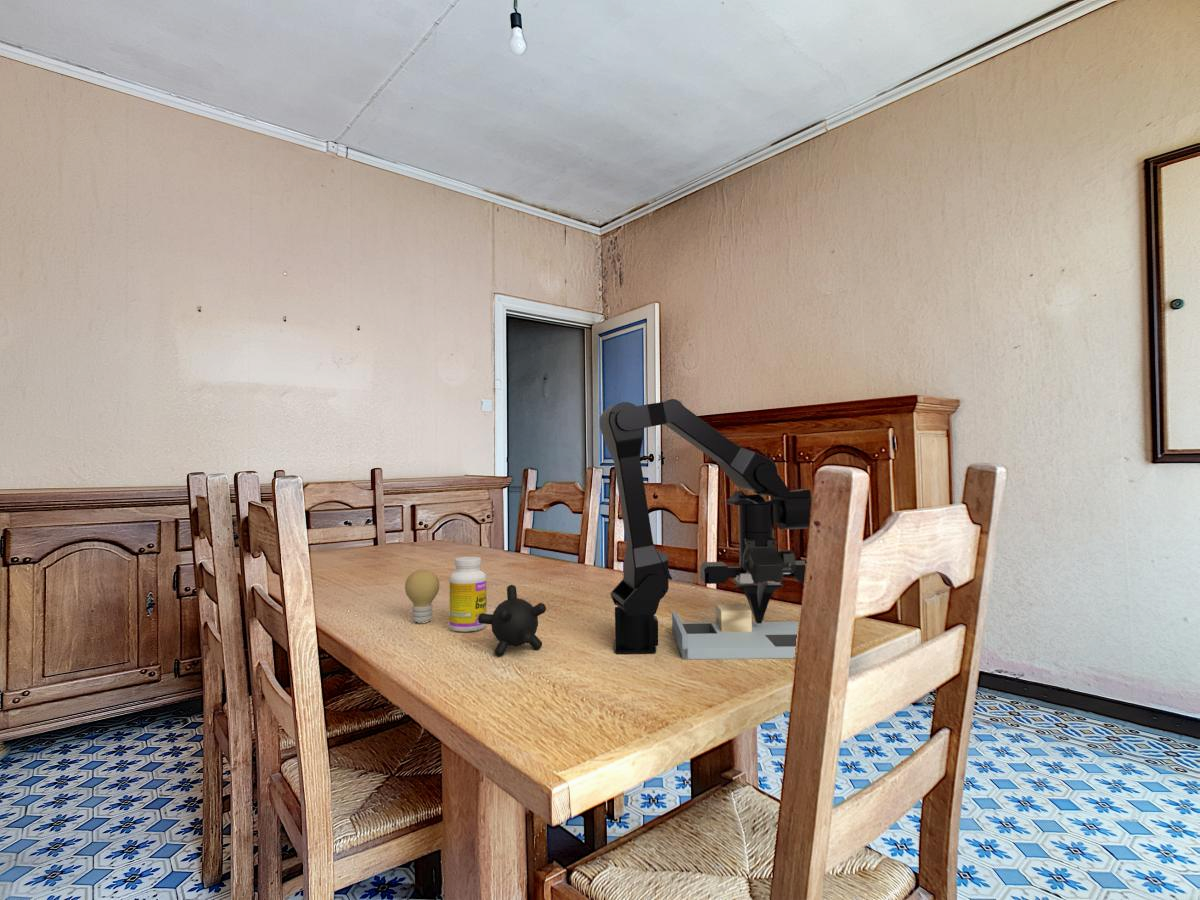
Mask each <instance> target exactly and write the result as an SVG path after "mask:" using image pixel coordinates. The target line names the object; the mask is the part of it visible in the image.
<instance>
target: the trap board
mask: <svg viewBox="0 0 1200 900" xmlns="http://www.w3.org/2000/svg"><path fill="white" fill-rule="evenodd" d="M671 623H672V624H671V627H672V629H671V630H672V635H673V637H674V640H675V643H676V646H677V649H678V651H679V653H680V656H681V659H682V660H734V659H735V660H736V659H737V660H742V659H743V660H747V659H749V660H750V659H751V660H752V659H755V660H757V659H758V660H762V659H795V658H794V655H795V648H796V638H797V628H798V620H796V621H795V620H794V621H762V623H758V624H757V623H756V621H752V632H721V630H720V629H719V627H718V626H717V624H716V621H715V622H713V621H712V622H682V620H681V618H680V616H679V614H678V612H677V610H675V611H671Z"/></svg>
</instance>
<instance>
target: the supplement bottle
mask: <svg viewBox="0 0 1200 900" xmlns="http://www.w3.org/2000/svg"><path fill="white" fill-rule="evenodd" d="M454 565H455V571H454V572H452V574H450V576H449V628H450V630H451V629H452V631H453V630H455V631H475V632H477V631H476V630H479V631H481V630H480V629H482V630H483V629H485V628H486V626H487V624H481V623H479V622H478V616H479V615H480V614H488V612H487V610H488V608H487V574H486V573H485V572H484V571H482V570H480V569H481V568H480V567H481V565H482V558H481V557H480V556H462V557H456V558H455V559H454ZM455 631H454V632H455Z"/></svg>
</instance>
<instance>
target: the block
mask: <svg viewBox="0 0 1200 900" xmlns="http://www.w3.org/2000/svg"><path fill="white" fill-rule="evenodd" d="M752 616H753V613H752V611H751V608H750V606H748V605H747V604H746V603H716V604H715V618H716V619H715V622H716V624H717V626H718V627H719V629H720V630H721V632H752V622H753V620H752Z"/></svg>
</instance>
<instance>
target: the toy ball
mask: <svg viewBox="0 0 1200 900" xmlns="http://www.w3.org/2000/svg"><path fill="white" fill-rule="evenodd" d="M517 595H518V593H517V587H516V586H515V585H514V584H509V585H508V586H507V587H506V597H507V599H505V600H503V601H502V602H501V603H499V604H498V605H497V606H496V608H495V609H494V611H493V613H492V614H491V613H487V614H480V615H479V616H478V622H479V623H481V624H486V625H491V632H492V634H493V636H494V637H495V639H496V640H497V641H498V643H497V645H495V646H496V647H495V649H494V650H493V651H494V654H495V655H496V657H503V656H504V655H505V653H506V652H507V650H508V648H509V647H521V646H523V645H525V644H527V645H528V644H529V645H530V646H531V648H533V649H534V650H536V651H537V650H540V649H541V648H542V646H543V642H542V640H541V639H540V638H539V637H538V636H537V635H536V633H537V630H538V626H539V617H538V616H541V615H542V614H545V612H546V610H547V607H546V604H545V603H542V602H539V603H538V604H536V605H534V606H533V605H532V604H531V603H530V602H529V601H527V600H525V599H523V598H518V596H517Z"/></svg>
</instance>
